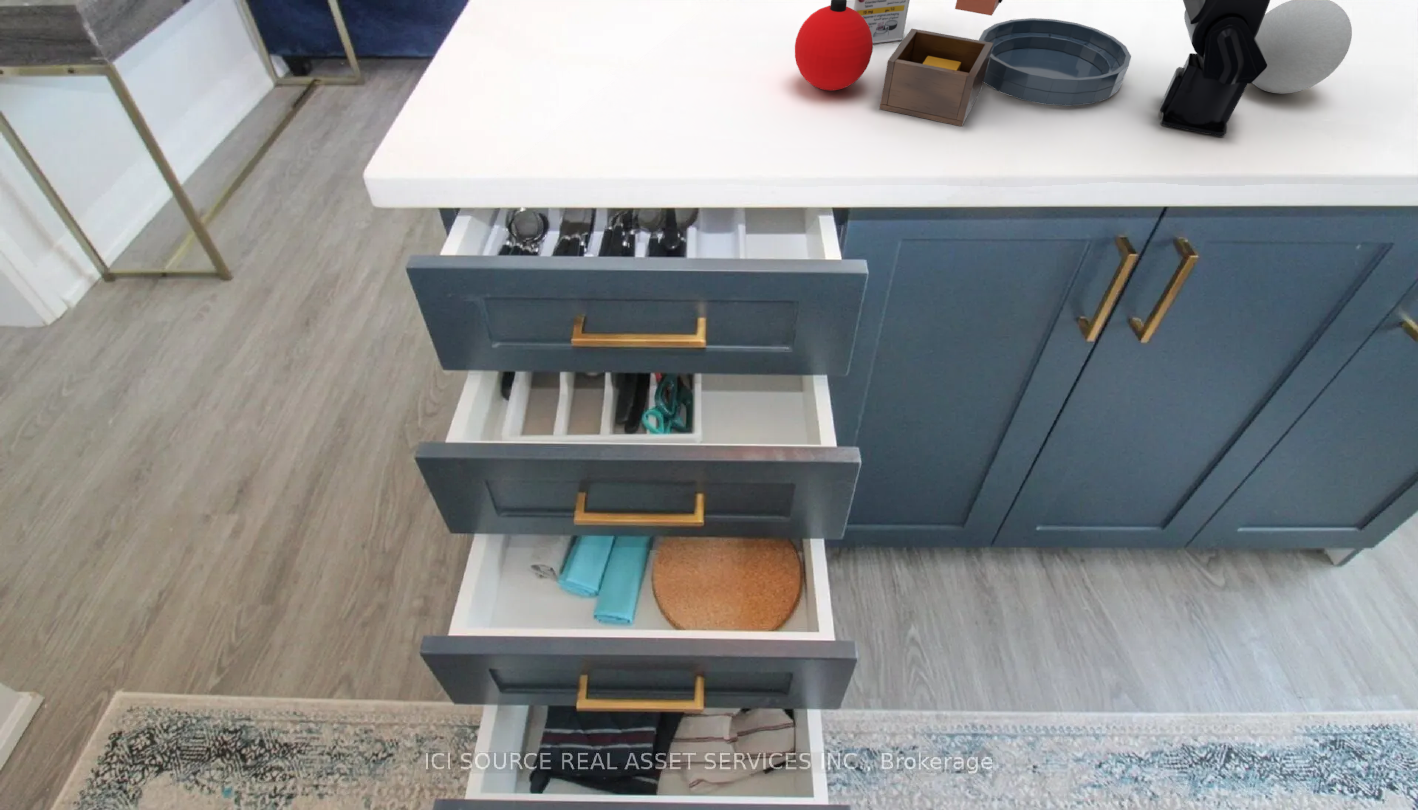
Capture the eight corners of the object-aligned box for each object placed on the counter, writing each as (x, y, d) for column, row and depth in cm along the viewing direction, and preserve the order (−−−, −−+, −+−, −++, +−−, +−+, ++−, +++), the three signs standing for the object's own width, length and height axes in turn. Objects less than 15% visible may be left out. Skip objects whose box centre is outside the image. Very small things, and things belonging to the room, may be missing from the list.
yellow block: (955, 87, 89) (961, 62, 87) (942, 109, 86) (949, 83, 84) (922, 80, 91) (927, 55, 88) (908, 102, 87) (913, 76, 85)
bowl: (1125, 61, 95) (1137, 33, 93) (1109, 122, 85) (1122, 91, 82) (988, 37, 100) (995, 9, 98) (958, 91, 90) (965, 62, 87)
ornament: (882, 90, 90) (897, 1, 83) (825, 111, 87) (836, 21, 79) (831, 63, 95) (842, -23, 88) (776, 82, 92) (782, -6, 84)
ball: (1241, 63, 95) (1286, -24, 87) (1329, 88, 90) (1384, -1, 83) (1211, 89, 90) (1257, 0, 82) (1302, 118, 85) (1359, 26, 78)
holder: (980, 90, 90) (993, 42, 86) (962, 126, 84) (975, 77, 80) (902, 75, 93) (911, 28, 89) (879, 109, 87) (887, 60, 83)
